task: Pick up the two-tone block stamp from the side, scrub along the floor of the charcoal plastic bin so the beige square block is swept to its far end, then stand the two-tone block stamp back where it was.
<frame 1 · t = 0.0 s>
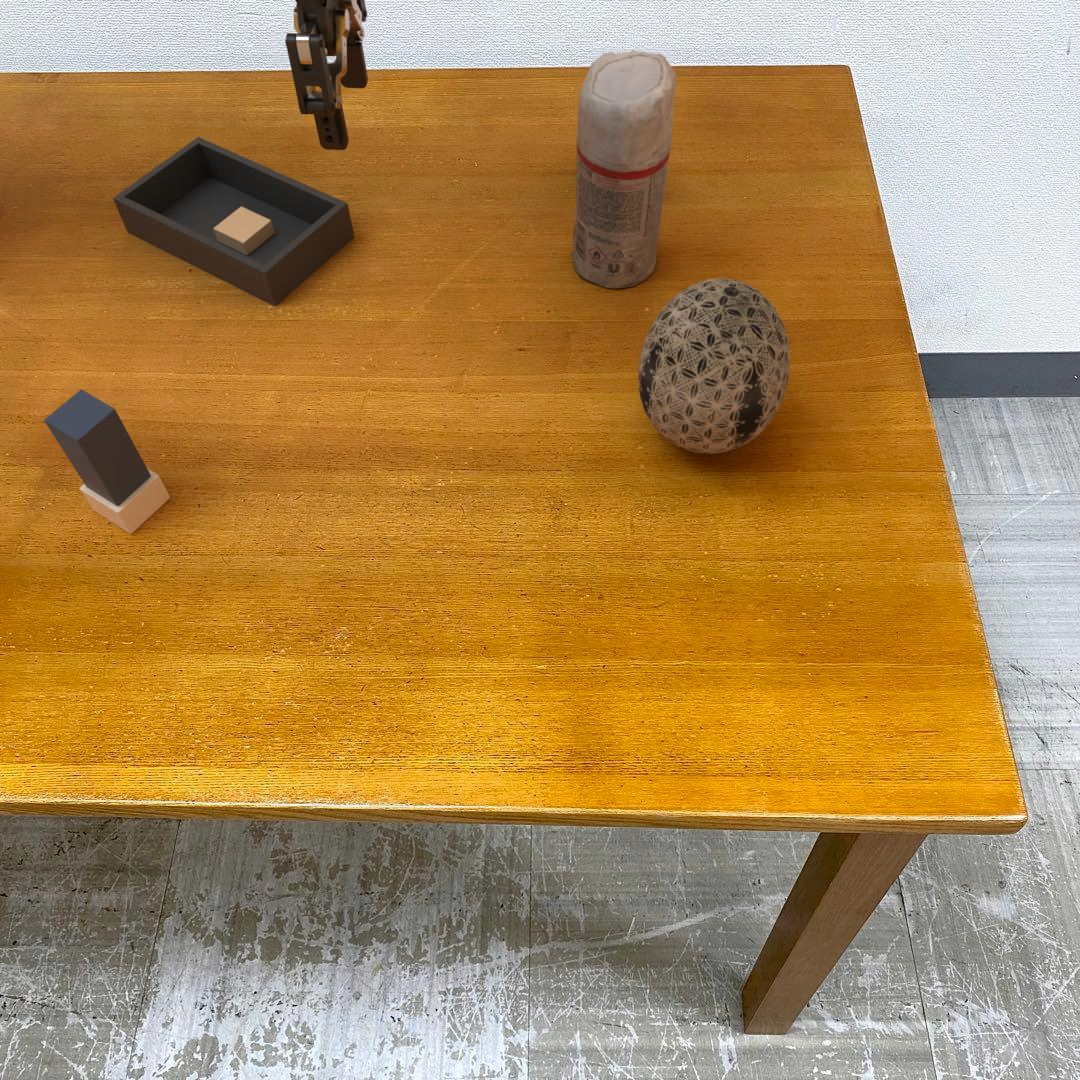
hand: (345, 115, 84), 16 cm above the table, tool pointing down, fingers open, 8 cm apart
spray can: (616, 264, 98), on the table
decorative egg: (702, 431, 86), on the table
two-tone block stamp: (132, 504, 82), on the table
bin: (241, 239, 101), on the table
beige square block: (246, 237, 100), point 1 cm above the table, touching bin
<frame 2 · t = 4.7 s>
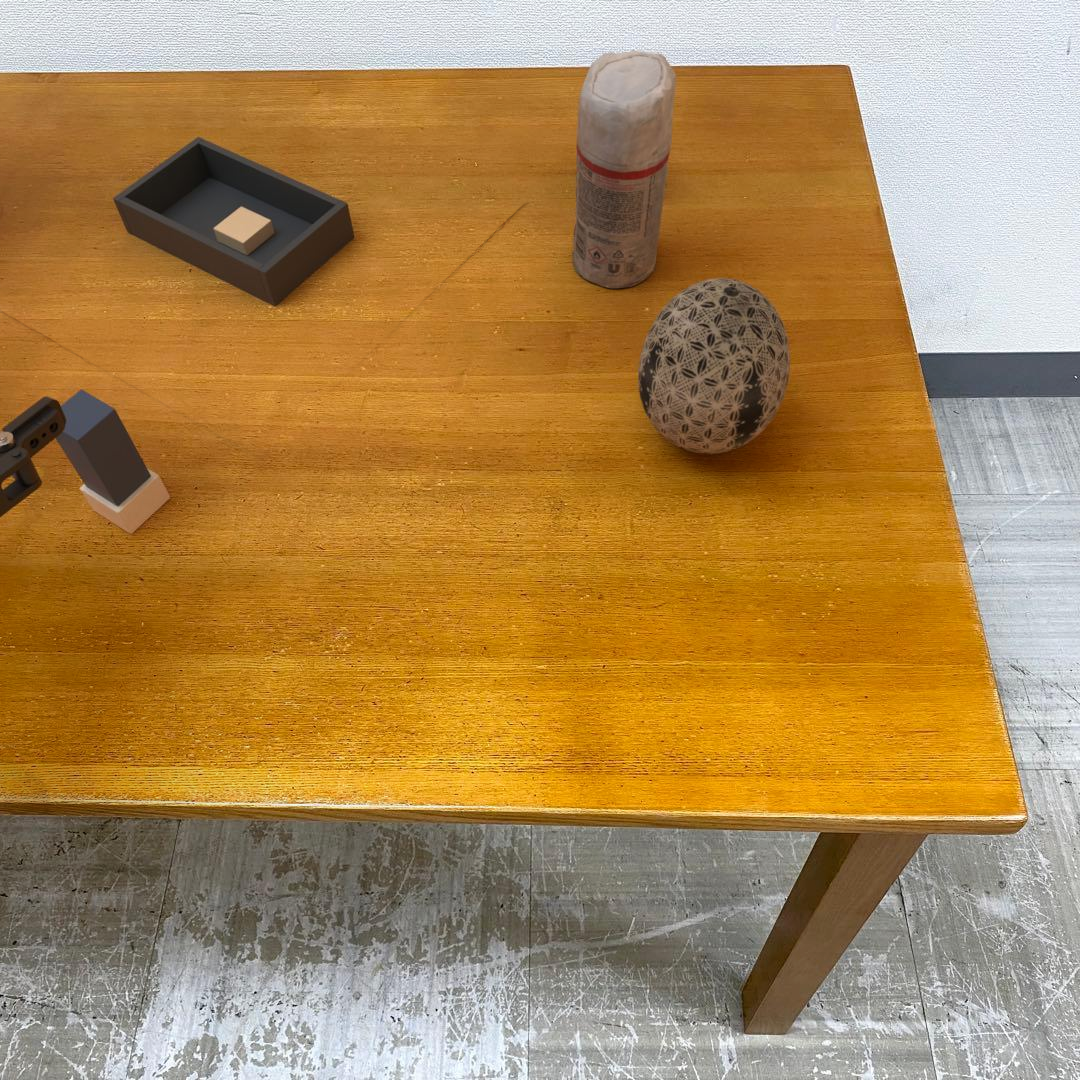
hand: (7, 388, 64), 19 cm above the table, tool horizontal, fingers open, 8 cm apart
nothing on the table moved.
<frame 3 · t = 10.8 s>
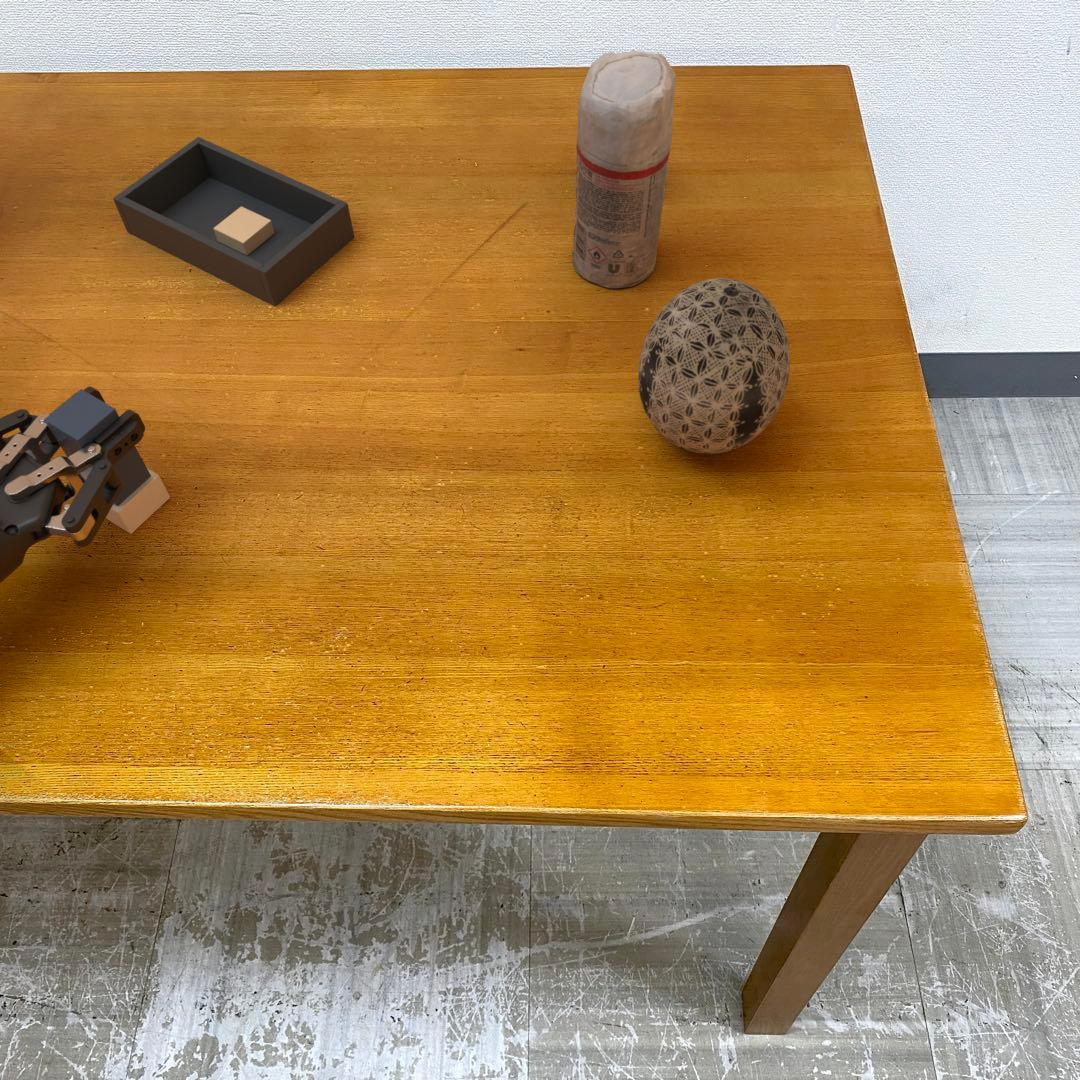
hand: (117, 407, 76), 9 cm above the table, tool horizontal, fingers closed on two-tone block stamp, 3 cm apart
two-tone block stamp: (132, 503, 82), on the table, touching gripper
everything else where it was.
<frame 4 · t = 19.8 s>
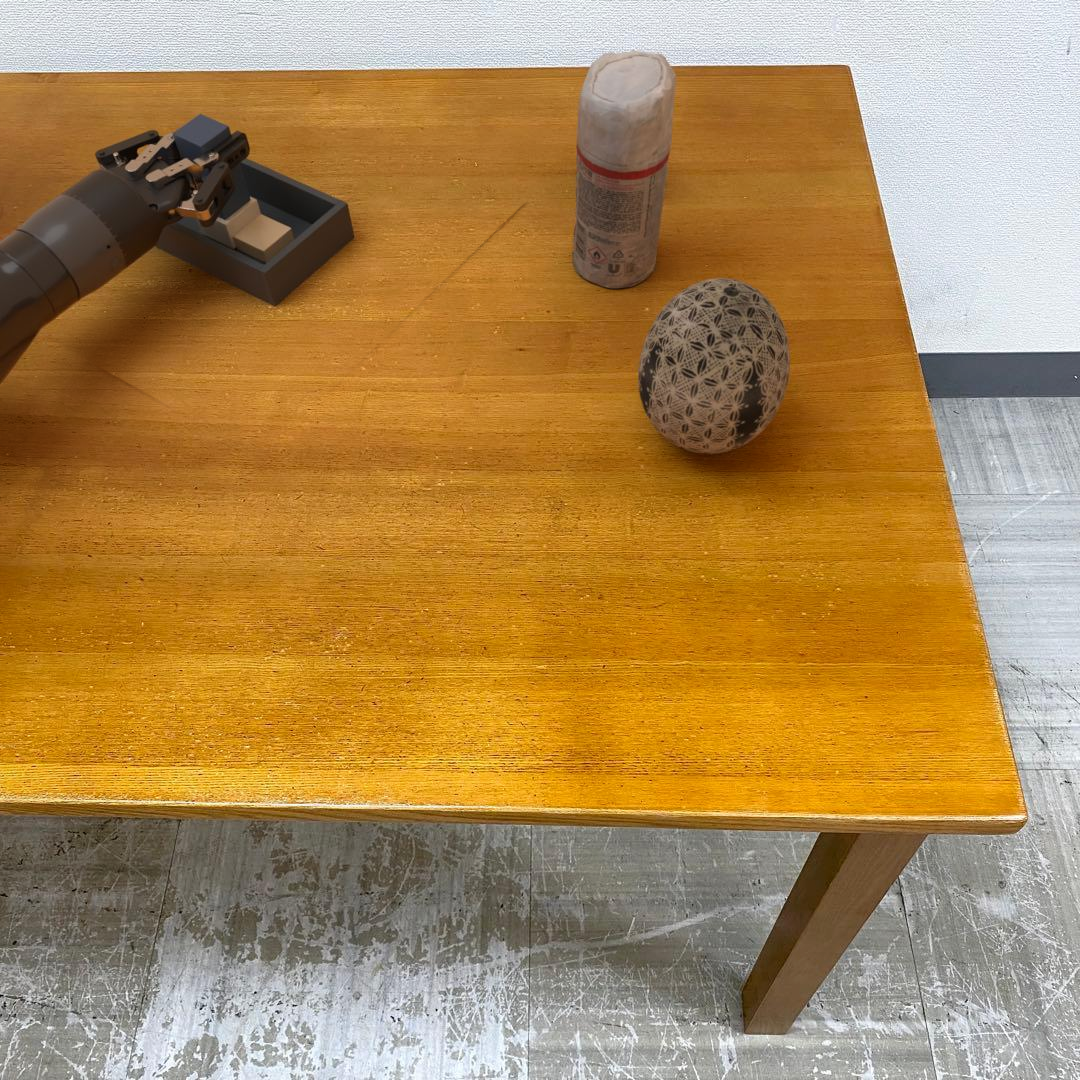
hand: (227, 133, 94), 10 cm above the table, tool horizontal, fingers closed on two-tone block stamp, 3 cm apart
two-tone block stamp: (232, 229, 100), point 1 cm above the table, touching beige square block, gripper
beige square block: (266, 245, 99), point 1 cm above the table, touching bin, two-tone block stamp
everything else where it was.
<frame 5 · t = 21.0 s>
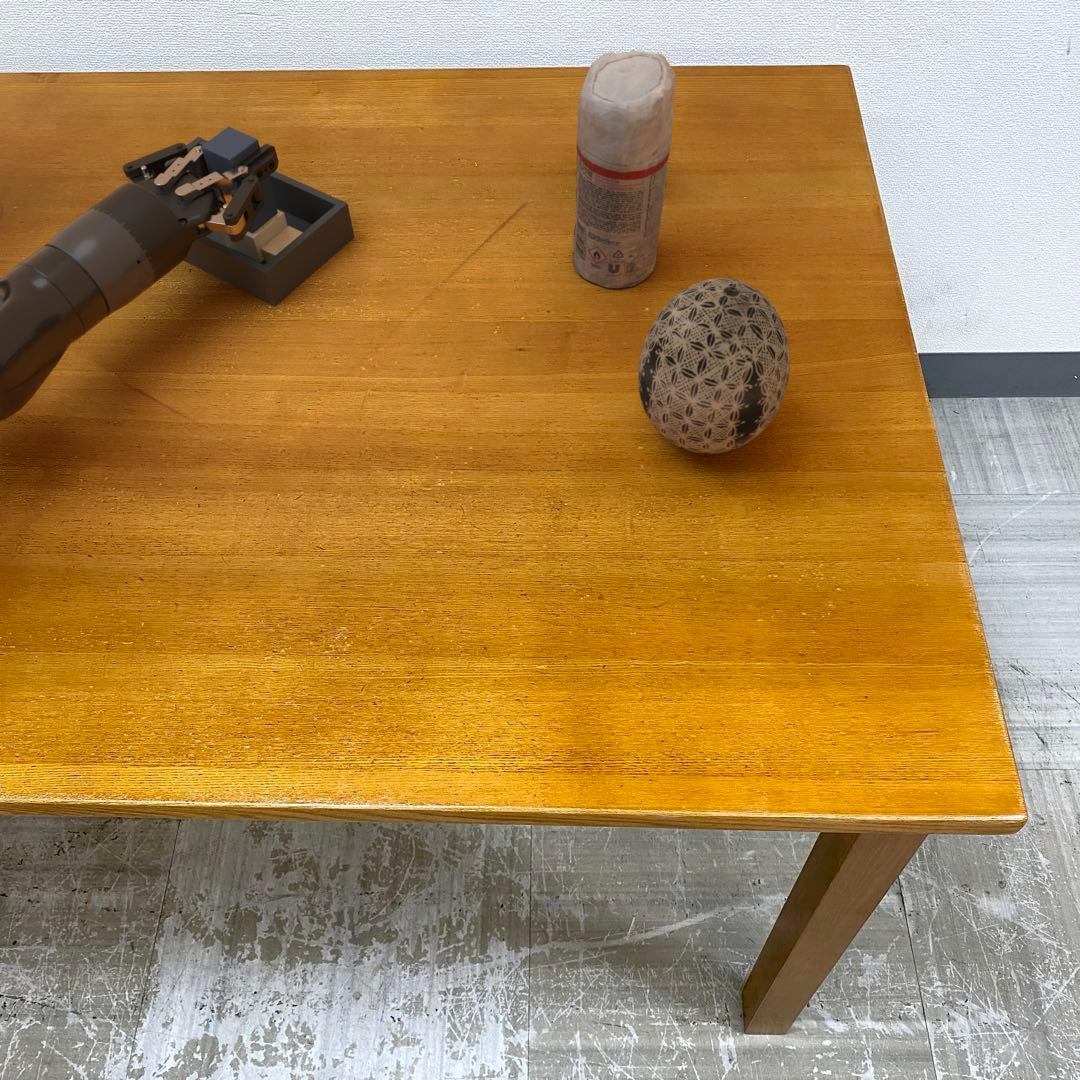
hand: (255, 146, 93), 10 cm above the table, tool horizontal, fingers closed on two-tone block stamp, 3 cm apart
two-tone block stamp: (259, 242, 99), point 1 cm above the table, touching beige square block, gripper
beige square block: (293, 257, 98), point 1 cm above the table, touching bin, two-tone block stamp
everything else where it was.
when the fingers open (9 cm above the table, at t = 29.3 s): two-tone block stamp stays where it is, on the table.
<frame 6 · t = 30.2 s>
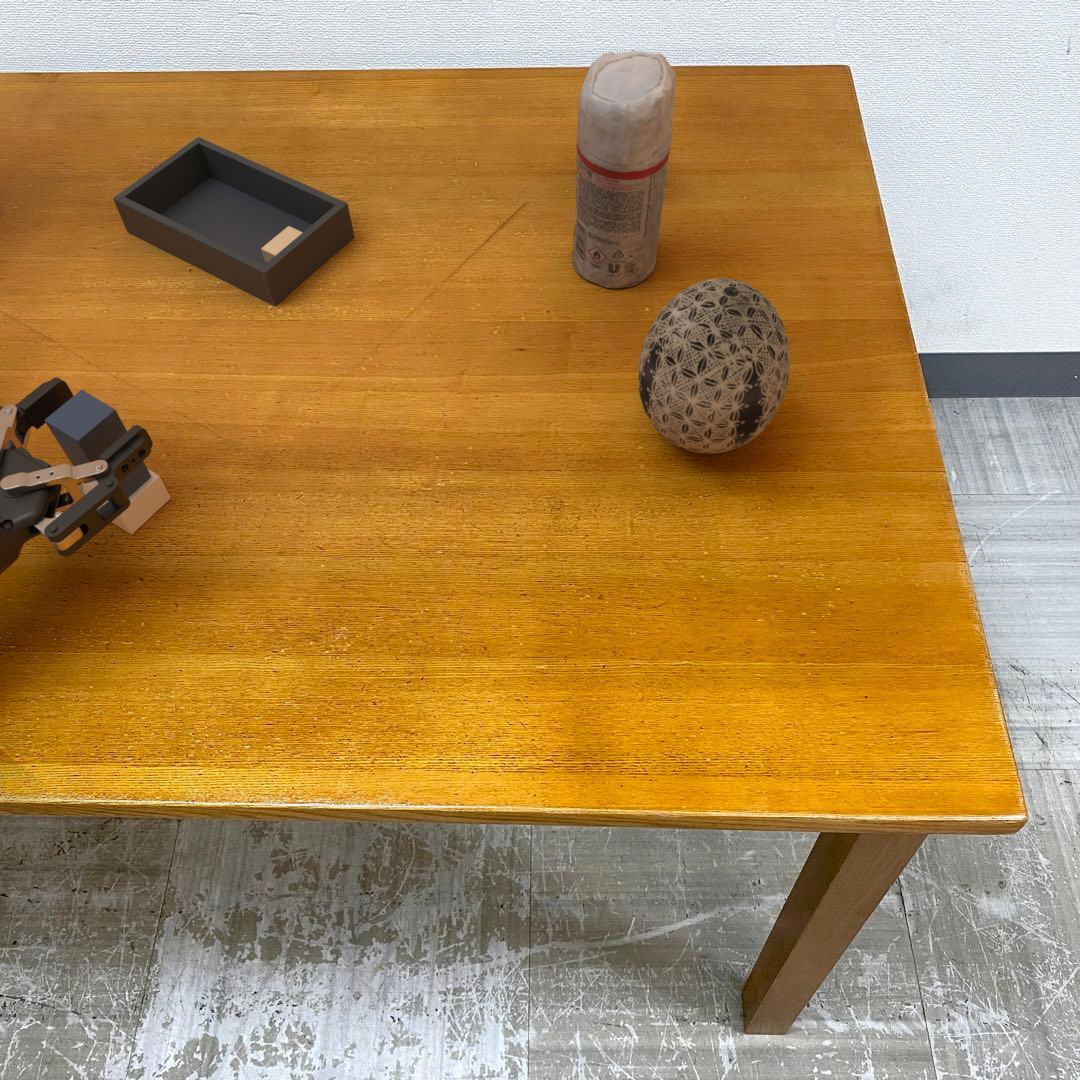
hand: (105, 409, 75), 10 cm above the table, tool horizontal, fingers open, 8 cm apart
two-tone block stamp: (132, 504, 82), on the table
beige square block: (294, 257, 98), point 1 cm above the table, touching bin
everything else where it was.
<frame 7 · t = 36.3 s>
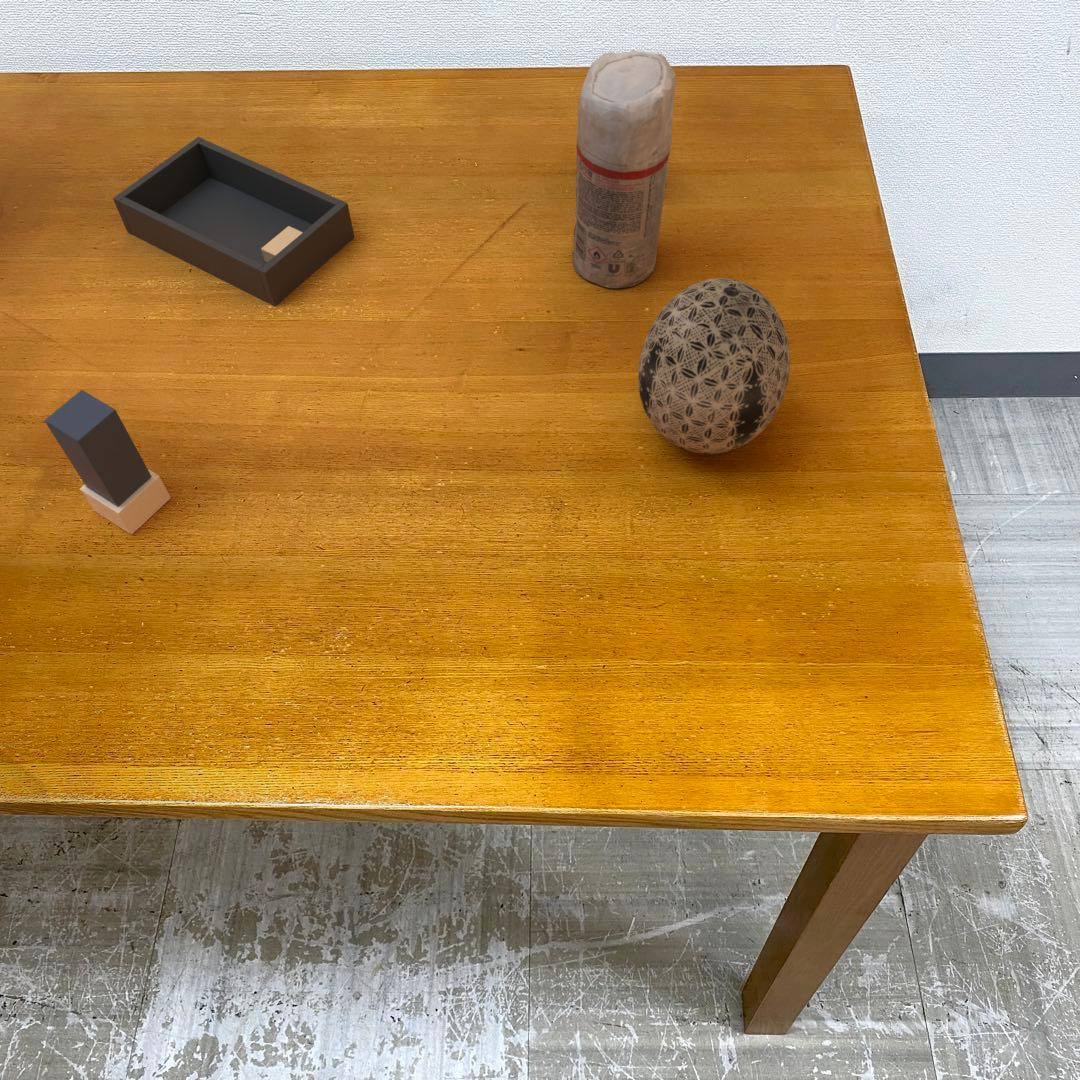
nothing on the table moved.
at the end: beige square block inside the target area in the bin (0.4 cm from its centre), point 0.6 cm above the bin's base; the gripper is holding nothing; two-tone block stamp tilted 0° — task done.
